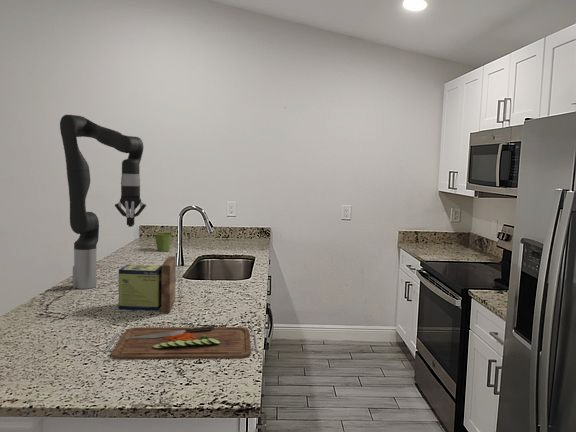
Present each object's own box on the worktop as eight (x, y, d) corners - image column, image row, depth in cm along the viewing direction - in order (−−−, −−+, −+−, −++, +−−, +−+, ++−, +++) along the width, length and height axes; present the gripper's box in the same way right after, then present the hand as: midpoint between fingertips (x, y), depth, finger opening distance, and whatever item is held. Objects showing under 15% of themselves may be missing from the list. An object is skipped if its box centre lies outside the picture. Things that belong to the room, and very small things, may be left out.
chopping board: (99, 361, 146) (99, 350, 146) (120, 331, 173) (120, 322, 172) (259, 359, 151) (259, 349, 150) (255, 330, 177) (255, 322, 177)
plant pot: (152, 249, 335) (152, 232, 334) (170, 249, 340) (170, 232, 339) (155, 252, 325) (155, 235, 324) (174, 252, 330) (174, 234, 329)
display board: (161, 313, 193) (161, 265, 191) (167, 299, 213) (168, 256, 211) (169, 313, 193) (170, 265, 192) (175, 299, 213) (175, 256, 211)
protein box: (158, 311, 196) (159, 270, 195) (117, 309, 196) (117, 269, 195) (165, 303, 207) (165, 265, 205) (126, 302, 206) (126, 264, 205)
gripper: (148, 185, 219) (148, 225, 221) (116, 184, 218) (116, 225, 219) (145, 185, 212) (145, 227, 213) (112, 184, 210) (112, 227, 212)
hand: (130, 226), depth 216 cm, fingers closed
